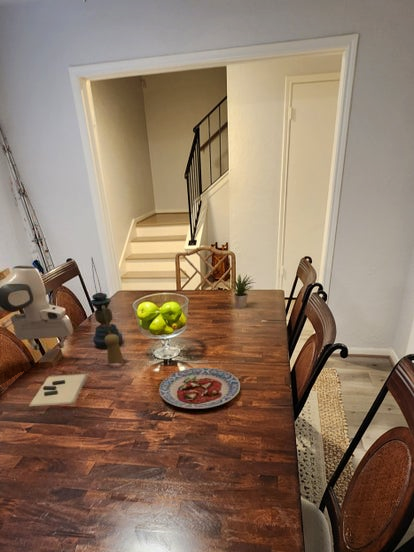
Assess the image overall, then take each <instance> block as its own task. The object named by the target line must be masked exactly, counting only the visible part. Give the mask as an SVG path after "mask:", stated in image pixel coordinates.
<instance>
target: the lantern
mask: <svg viewBox="0 0 414 552" xmlns="http://www.w3.org/2000/svg"><path fill="white" fill-rule="evenodd" d="M90 259H91V266H92V267H91V268H92V269H91V270H94V271H95V274H96V278H97V281H98V285H99V291H100V292H98V291H97V285H96V281H95V274H94V272H92V278H93V284H94V289H95V293H94V294H93V295H91V297H92V300H90V304H91V305H92V307H94V308H95V311H94V317H95V320H96V322H97V323H99V325H97V326H96V327H95V332H94V336H93V343H94V345H95V346H96V348H98V349H100V350H101V349H102V350H107V344H106V343H105V337H106V336H107V335H110V334H115V335H117V336H118V337H119V343H118V344H119V346H120V345H122V343H123V334H122V333H121V332H119V329H118V328H117V325H116V324H114V323H112V320H113V317H114V316H113V312H112V310H111V309H110V308H109V305H110V304H111V301H112V299H111V298H109V297H108V295H107V293H104V292H102V289H101V288H102V287H101V284H100V279H99V276H98V272H97V269H96V265H95V262H94V258H93V256H91V257H90Z"/></svg>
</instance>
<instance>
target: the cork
mask: <svg viewBox="0 0 414 552" xmlns="http://www.w3.org/2000/svg"><path fill="white" fill-rule="evenodd" d="M105 343H106V344H107V349H106V352H107V353H106V354H107V362H108V363H109V364H121V365H122V364H124V363H125V360H124V359H125V358H124V356H123V354H122V350H121V347H120V345H119V344H118V343H119V337H118V336H117V335H115V334H110V335H107V336H106V337H105Z"/></svg>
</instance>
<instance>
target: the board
mask: <svg viewBox="0 0 414 552" xmlns="http://www.w3.org/2000/svg"><path fill="white" fill-rule="evenodd" d="M88 376H89V373H74V374H59V375H58V374H57V375H48V376H47V378H46V380H45V381H44V383H43V384H42V385H41V387H40V388H39V390H38V391H37V393H36V394H35V396H34V398H33V399H32V400H31V401H30V404H29V405H28V407H39V406H40V407H41V406H54V405H56V406H57V405H68V404H69V405H71V404H75V402H77V401H76V400H77V398H78V397H79V395H80V393H81V390H82V388H83V387H84V384H85V382H86V380H87V378H88ZM60 380H65V384H59V385H53V384H52V382H53V381H60ZM44 386H56V390H57V391H58V394H56V395H49V396H44V392H49V391H56V390H43V387H44Z"/></svg>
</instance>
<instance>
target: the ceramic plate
mask: <svg viewBox="0 0 414 552" xmlns="http://www.w3.org/2000/svg"><path fill="white" fill-rule="evenodd" d="M240 389H241V382H240V381H239V379H238V377H236V376H235V375H233V373H230V372H228V371H226V370H223V369H220V368H214V367H193V368H188V369H184V370H180V371H177V372H175V373H173V374H170V375H169V376H167V377H166V378H165V379H163V380H162V382H161V383H160V384H159V387H158V392H159V395H160V397H161V399H163V400H164V401H165V402H166V403H168V404H170V405H172V406H175V407H178V408H183V409H191V410H198V409H209V408H210V409H211V408H214V407H215V408H216V407H217V406H221V405H224V404H226V403H228V402H230V401H232V400H233V399H234V398H235V397H236V396H237V395H239V392H240Z"/></svg>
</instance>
